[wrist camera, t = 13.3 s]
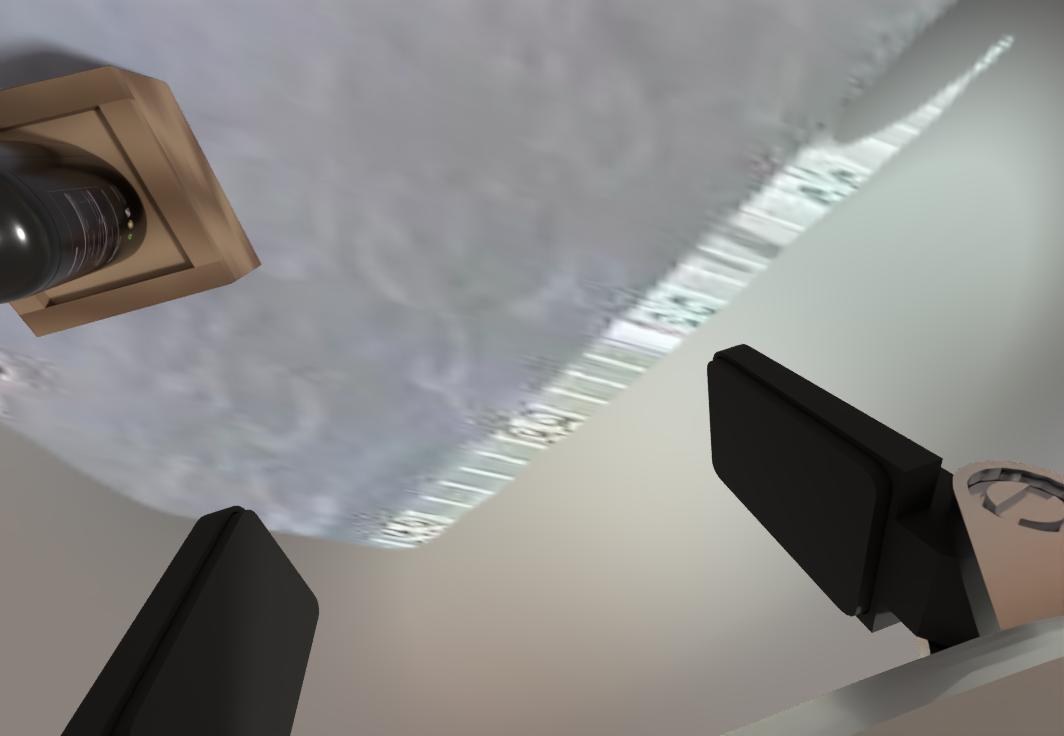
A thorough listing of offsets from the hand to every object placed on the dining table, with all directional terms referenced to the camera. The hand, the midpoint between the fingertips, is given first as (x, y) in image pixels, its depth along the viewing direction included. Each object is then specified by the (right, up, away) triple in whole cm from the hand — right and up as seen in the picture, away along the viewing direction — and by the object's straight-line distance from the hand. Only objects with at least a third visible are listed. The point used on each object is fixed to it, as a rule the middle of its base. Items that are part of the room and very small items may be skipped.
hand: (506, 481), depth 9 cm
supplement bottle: (-26, +12, +17) cm, 33 cm away
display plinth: (-27, +14, +21) cm, 37 cm away
